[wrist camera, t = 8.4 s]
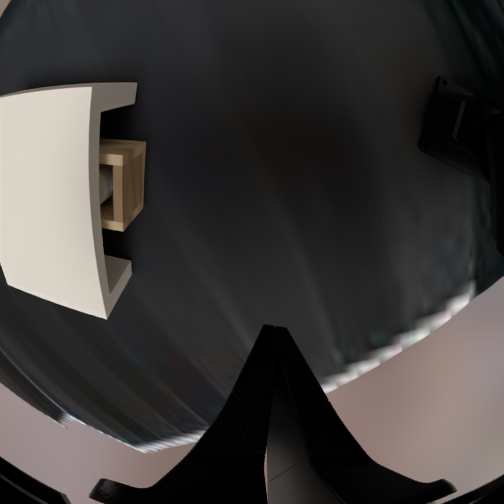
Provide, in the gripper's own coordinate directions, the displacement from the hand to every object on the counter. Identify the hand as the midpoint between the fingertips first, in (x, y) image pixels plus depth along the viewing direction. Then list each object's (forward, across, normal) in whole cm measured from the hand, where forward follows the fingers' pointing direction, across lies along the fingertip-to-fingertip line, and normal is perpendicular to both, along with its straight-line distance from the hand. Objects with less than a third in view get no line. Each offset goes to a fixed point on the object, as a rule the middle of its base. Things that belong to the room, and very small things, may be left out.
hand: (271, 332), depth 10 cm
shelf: (+13, +17, +2) cm, 21 cm away
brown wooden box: (+13, +15, 0) cm, 20 cm away
